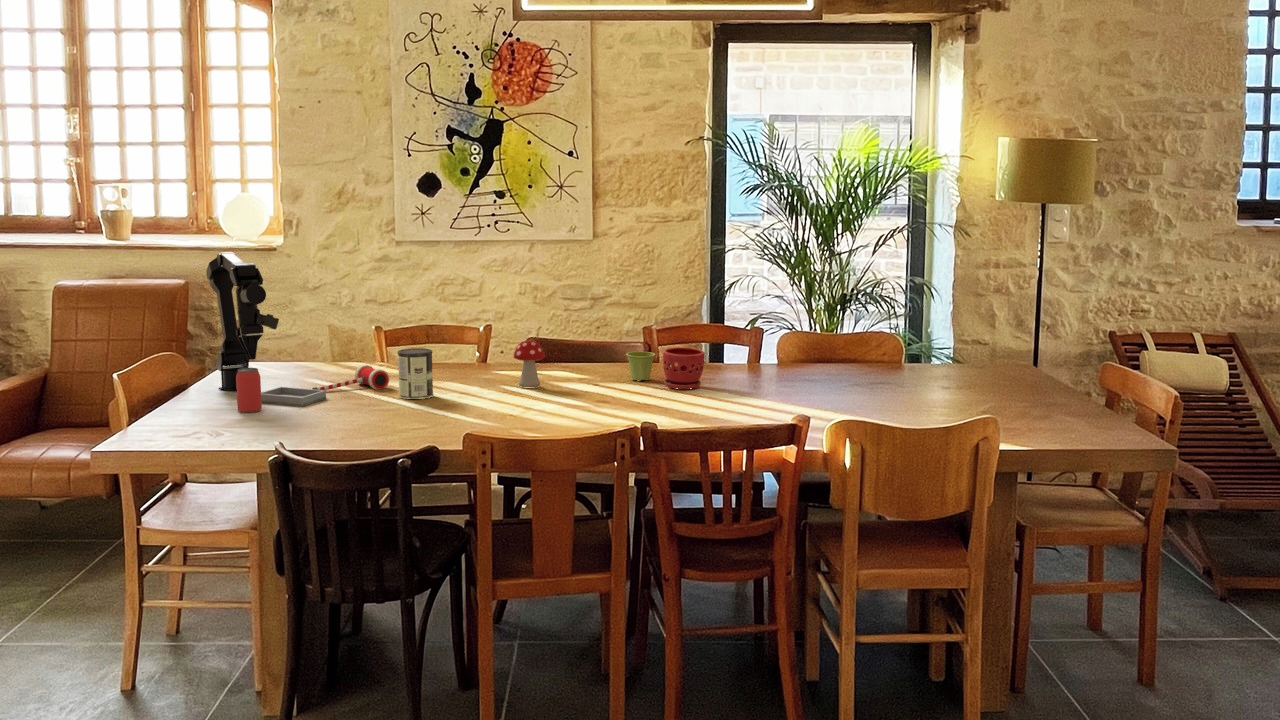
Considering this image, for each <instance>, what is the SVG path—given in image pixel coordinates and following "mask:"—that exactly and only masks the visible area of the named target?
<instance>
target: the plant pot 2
mask: <svg viewBox="0 0 1280 720" xmlns="http://www.w3.org/2000/svg"><path fill="white" fill-rule="evenodd" d="M705 352H706V351H704V350H702V349H699V348H693V347H683V346H682V347H679V346H678V347H670V348H665V349H664V350H663V351H662V363H663V364H662V365H663V372H664V375H665V376H664V377H666V379H664V381H663V383H664V385H665V387H667V388H669V387H670V388H669V389H671V388H678V389H690V388H696V389H698V388H700V386H701V384H702V382H701V381H700V379H701V376H702V374H703V371H704V367H705V357H706V356H705V354H706V353H705ZM675 364H677V365H675ZM697 387H698V388H697Z"/></svg>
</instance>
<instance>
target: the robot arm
mask: <svg viewBox="0 0 1280 720" xmlns="http://www.w3.org/2000/svg"><path fill="white" fill-rule="evenodd" d="M205 271H206V274H205V275H206V278H207V280H208V283H209V285H210V288H211V290H213V291H214V292H215V294H216V298H217V305H218V312H219V317H220V324H221V332H222V341H221V343H220V346H219V349H218V350H219V352H218V353H217V357H216V362H215V365H216V370H218V371H219V372H220V374H221V378H220V379H221V387H220V386H219V387H218V390H219V389H224V390H223V391H230V390H237V386H236V376H237V373H238V369H242V368H250V367H249V364H250V360H256V359H257V357H256V356H257V351H258V341H259V340H260V339H261V338H262V337H264V335H263V334H264V333H265V331H264V327H267V328H270V329H271V330H272V329H273V330H277V328H278V325H279V321H280V318H277V317H274V315H273V314H271V313H267V314H262V313H261V310H260V308H258V306H259V305H260V304H262V303H264V301H265V300H266V297H267V292H266V290H265V288H264V287H263V286H262V285H263V284H264V278H263V276H262V274H261V271H260V270H259V268H258V266H257V264H255V263H253V262H244V261H243V260H242V259H241V258H239V257H238V256H237V255H236V253H235V252H232V251H230V252H227V251H226V252H219V253H217V254H216V257H215V258H214V259H212V260H211V261H210V262H208V265H207V268H206V270H205ZM234 287H235V295H236V296H235V297H236V298H235V299H236V309H235V303H234V302H235V301H234V296H233V295H234V294H233V289H234ZM236 314H237V315H236ZM237 321H238V324H237Z"/></svg>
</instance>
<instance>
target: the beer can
mask: <svg viewBox="0 0 1280 720" xmlns="http://www.w3.org/2000/svg"><path fill="white" fill-rule="evenodd" d="M236 386H237V391H236V405H237V406H236V407H237V411H240V413H242V412H245V413H246V414H250V413H251V412H253V413H257V412H260V411H261V410H262V404H263V403H261V392H262V382H261V375H260V372H259V369H258V367H257V368H256V367H249V368H242V369H238V373H237V376H236ZM251 414H252V413H251Z"/></svg>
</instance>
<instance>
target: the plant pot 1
mask: <svg viewBox="0 0 1280 720" xmlns="http://www.w3.org/2000/svg"><path fill="white" fill-rule="evenodd" d="M625 355H626V356H627V360H628V365H629V373H630V379H631V381H633V380H640V381H639V382H641V380H649V379H651V373H652V368H653V367H652V366H653V362H654V359H655V356H656V353H654V352H650V351H630V352H627V353H626V354H625ZM649 381H650V380H649Z"/></svg>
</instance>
